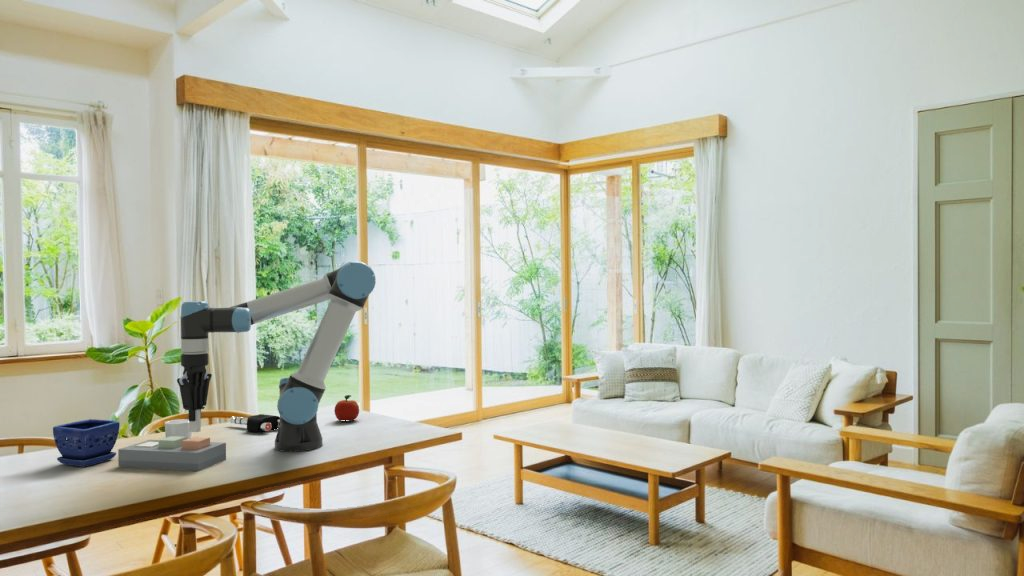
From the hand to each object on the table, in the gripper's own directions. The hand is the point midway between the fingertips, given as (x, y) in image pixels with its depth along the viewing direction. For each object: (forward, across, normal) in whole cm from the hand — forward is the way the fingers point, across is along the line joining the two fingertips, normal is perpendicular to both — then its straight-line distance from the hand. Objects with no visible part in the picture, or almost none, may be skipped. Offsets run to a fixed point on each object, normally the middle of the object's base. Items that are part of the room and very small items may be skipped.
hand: (194, 431), depth 206 cm
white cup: (+10, -13, -16) cm, 23 cm away
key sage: (+6, 0, -8) cm, 10 cm away
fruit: (+10, -69, +16) cm, 72 cm away
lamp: (+10, -50, -13) cm, 53 cm away
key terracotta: (+6, 0, 0) cm, 6 cm away
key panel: (+10, 0, -8) cm, 12 cm away
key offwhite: (+8, 0, -16) cm, 18 cm away
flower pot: (+11, +3, -35) cm, 37 cm away
